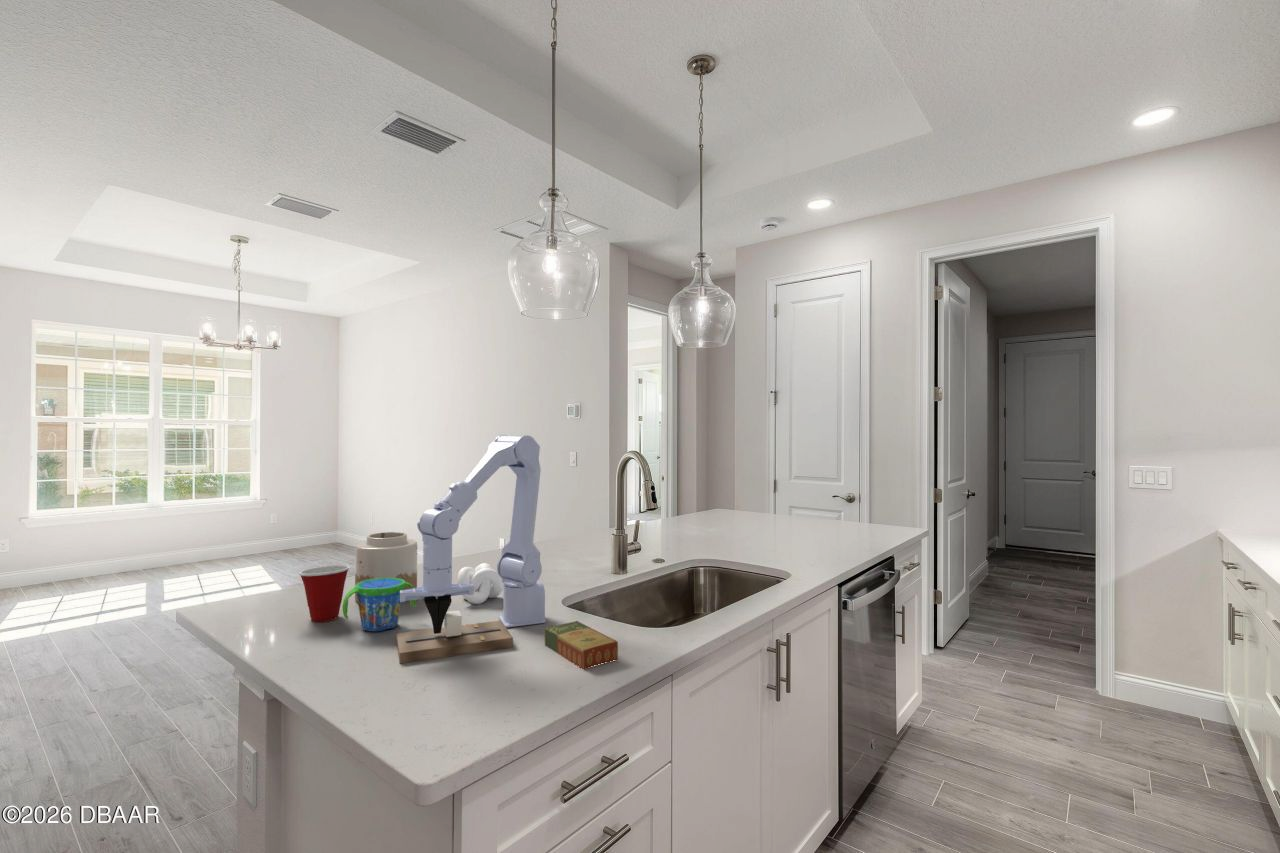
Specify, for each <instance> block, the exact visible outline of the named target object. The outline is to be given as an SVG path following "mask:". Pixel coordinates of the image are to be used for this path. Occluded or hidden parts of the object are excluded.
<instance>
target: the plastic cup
mask: <svg viewBox="0 0 1280 853" xmlns="http://www.w3.org/2000/svg"><path fill="white" fill-rule="evenodd" d="M349 570H350V565H346V564H342V565H340V564H339V565H337V564H336V565H324V566H320V567H319V566H318V567H311V568H309V569H304V570H301V571H299V572H298V575H299V576H300V578H301V580H302V583H303V586H304V592H305V598H306V603H307V607H308V610H309V617H310V619H311V621H312V622H316V623H323V622H330V621H334V620H336V619H337V618H339V615H340V611H341V609H340V608H341V604H342V603H343V602H342V600H343V595H344V591H345V590H344V589H345V584H346V579H347V575H348V572H349Z"/></svg>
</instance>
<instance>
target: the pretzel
mask: <svg viewBox="0 0 1280 853" xmlns="http://www.w3.org/2000/svg"><path fill="white" fill-rule="evenodd" d="M456 579H457V584H471V583H472V584H473V585H474V595H468V594H466V595H461V596H462V597H463V599H465V600H466V601H468V602H469V603H470V604H473V605H480V604H483V603H484V602H485V601H487V599H494V598H497V597H498V596H500V595H501V594H502V592H503V591H504V583H502V578H501V577H500V576H499V574H498V572H497V570H495V569H493V568H492V566H491V564H489V563H486V562H483V563H480V564H479V565H477V566H476V567H475V568H473V567H471V566H464V567H462V568H460V570H459V571H458V574H457V578H456Z"/></svg>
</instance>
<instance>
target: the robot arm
mask: <svg viewBox="0 0 1280 853" xmlns="http://www.w3.org/2000/svg"><path fill="white" fill-rule="evenodd" d="M540 449H541V445H540V444H539V443H538V441H536V440H535V438H534V437H533V436H531V435H527V434H526V435H508V434H500V435H498V436H496V438H494V440H493V441H492V442H491V443H490V444H488V448H487V452H486V453H485V454H484V455H483V457H482V458H481V459H480V461H479V462H478V463H477V464H476V465H475V467H474V469H473V470H472V471H471V472H470V473H469V475H468V476H467V477H466V478H465V480H464V481H461V480H460V481H455V483H451V484H450V485H449V486H448V491H446V493H444V495H443V496H442V497H441V498H440V500H439V501H438V500H437V501H436V502H435V503H434V507H433V508H432V507H431V508H430V509H429V508H428V509H427V510H425V511H424V512H423V513H422V515H421V516H420V519H419V521H418V522H417V524H416V526H417V529H418V532H419V533H420V534H421V537H422V538H421V539H422V540H421V541H422V545H423V546H422V548H423V550H422V551H423V552H422V553H423V555H422V557H423V558H422V586H421V587H418V586H417V588H413V589H407V590H400V602H401V603H404V602H409V601H411V600H416V601H417V600H423V603H424V606H425V607H426V609H427V611H428V613H429V616H430V618H431V624H432V629H433V632H434V634H438V633H441V628H443V624H444V618H445V615H446V612H448V611H449V608H450V606H451V605H452V604H451V603H452V602H453V601H452V597H453V596H455V597H456V596H462V595H466V594H468V595H474V585H473V584H472V583H471V584H458V583H453V536H454V534H456V533H457V532H458V529H459V525H460V521H461V520H462V518H463V516H464V515H465V514H466V512H467V511H468V510H469V509H470V508H471V506H473V504H474V503H475V502H476V501H477V500H478V491H479V490H480V489H481V487H483V485H484V484H486V482H488V480H489V479H490V478H491V477H492V476H493V475H494V474H495V473H496V472H498V470H499V469H500V468H502V467H509V469H511V471H512V473H514V474H515V475H516V480H515V489H514V498H513V500H514V501H513V508H512V517H511V518H512V519H511V526H510V527H511V528H510V536H509V541H508V542H507V543H506V544H505V545H504V546H503V547H502V549H501V555H500V557H499V559H498V561H497V564H496V571H497V572H498V574H499V576H500V577H501V578H502V583H504V587H503V604H502V605H503V608H502V609H503V614H501V615H499V616H498V618H499V621H502V622H503V624H504V625H505V627H506V628H507V629H508V628H513V627H521V626H530V625H537V624H545V623H546V621H547V620H546V591H545V586H544V582H542V581H539V579H540V578H541V575H542V568H543V566H542V562H541V552H540V550H539V549H538V548H537V547H536V545H535V543H534V540H535V539H534V538H535V529H536V528H535V526H536V519H537V518H536V517H537V509H538V500H539V499H538V498H539V489H540V480H541V479H540V478H541V470H542V469H541V464H540V451H541V450H540Z"/></svg>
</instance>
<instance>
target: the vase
mask: <svg viewBox="0 0 1280 853" xmlns="http://www.w3.org/2000/svg"><path fill="white" fill-rule="evenodd" d="M354 550H355V556H354V557H355V558H354V560H355V562H354V569H355V570H354V572H355V573H354V587H355V586H356V584H357V583H359V582H361V581H364V580H369V579H375V578H399V579H403V580H404V581H405V582H407V583H409V584H411V585H412V586H413V588H418V542H417V541H416V540H414V539H412V538H408V535H407V533H405V532H400V531H383V532H375V533H369V534H368V535H367V536H366V541H362V542H359V543H357V544H356V546H355V549H354ZM407 589H411V588H410V587H409V586H408V585H407V586H405V589H404V590H407ZM354 599H355V602H356V603H358V597H357V593H354ZM358 604H359V603H358Z"/></svg>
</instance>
